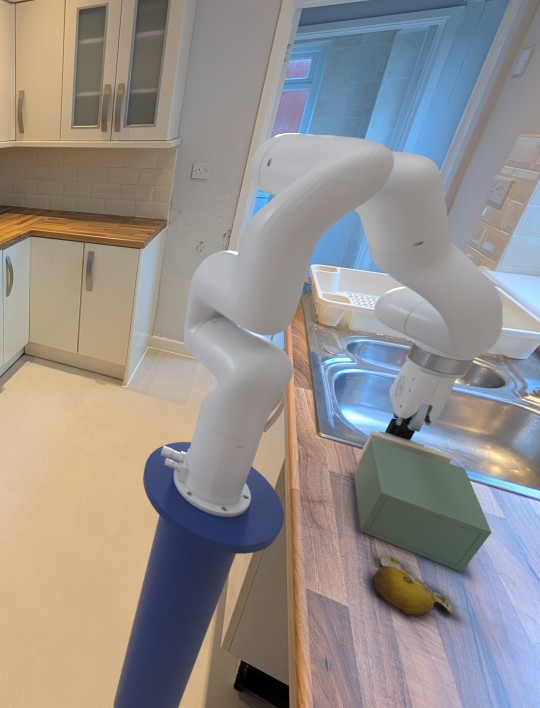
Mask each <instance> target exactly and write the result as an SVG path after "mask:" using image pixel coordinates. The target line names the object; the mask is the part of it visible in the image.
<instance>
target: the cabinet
mask: <svg viewBox="0 0 540 708" xmlns="http://www.w3.org/2000/svg"><path fill="white" fill-rule="evenodd" d="M353 479H354V487H355V496H356V504H357V513H358V522H359V528H360V529H359V530H360V532H361V533H363V534H367V535H369V536H372V537H374V538H376V539H378V540H381V541H384V542H386V543H389V544H392V545H394V546H396V547H398V548H401V549H403V550H406V551H408V552H411V553H414V554H416V555H418V556H420V557H423V558H426V559H428V560H430V561H433V562H435V563H438V564H441V565H443V566H446V567H448V568H451V569H453V570H456V571H458V572H460V573H463V572H464V570H465V569H466V567H467V566H468V565H469V563H470V562H471V561H472V559H473V558H474V557H475V555H476V554H477V553H478V551H480V549H481V547H482V546H483V545H484V543H485V542H486V541H487V539H488V538H489V537H490V535H492V530H491V527H490V525H489V523H488V520H487V518H486V516H485V513H484V510H483V508H482V506H481V504H480V502H479V498H478V497H477V495H476V492H475V490H474V488H473V485H472V483H471V480H470V478H469V476H468V473H467V471H466V469H465V467H461V466H458V465H455V464H452V463H446V462H442V461H439V460H436V459H433V458H430V457H426V456H423V455H420V454H417V453H414V452H411V451H407V450H404V449H401V448H398V447H395V446H391V445H388V444H385V443H382V442H379V441H376V440H371V442H370V444H369V446H368V448H367V450H366V452H365V454H364V456H363V458H362V460H361V462H360V463H359V464H358V466H357V468H356V470H355V472H354V474H353Z"/></svg>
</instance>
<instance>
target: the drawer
mask: <svg viewBox="0 0 540 708" xmlns="http://www.w3.org/2000/svg"><path fill="white" fill-rule="evenodd" d="M371 440H376V441H379V442H382V443H385V444H388V445H391V446H395V447H398V448H401V449H404V450H407V451H411V452H414V453H417V454H420V455H423V456H426V457H430V458H433V459H436V460H439V461H442V462H446V463H449V464H451V461H452V456H451V454H450V453H446V452H442V451H439V450H436V449H433V448H429V447H426V446H425V445H424V444H423V443H420V442H418V441H414V440H412V439H411V440H407V439H404V438H401V437H398V436H394V435H391V434H388V433H385V431H379V432H377V431H375V430H371V431H370V433H369V435H368V438H367V439H366V441H365V443H364V444H363V447H362V449H361V451H360V453H359V454H358V457H357V461H358V463H359V464H360V462H361V460H362V458H363V456H364V454H365V452H366V450H367V448H368V446H369V444H370V442H371Z"/></svg>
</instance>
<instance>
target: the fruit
mask: <svg viewBox="0 0 540 708" xmlns="http://www.w3.org/2000/svg"><path fill="white" fill-rule="evenodd" d="M379 563H380V565H381V566H382V567H380V568H379V569H378V570H377V571H376V572H375V573H374V575H373V577H372V579H373V581H372V582H373V588H374V591H375V593H376V594H378V595H379V596H380V597H381V598H382V599H384V600H385V601H387V602H390V603H391V604H393V605H395V607H397V608H398V609H400V610H402V611H403V613H404V614H406V615H413V616H415V617H420V616H421V615H424V614H426V613H428V612H430V611H431V609H432V608H433V607H434V604H435V603H438V604H441V605H442V606H444V608H445V610H444V611H445V612H447V613H449V614H451V615H452V614H454V613H455V611H454V608H453V606H452V605H451V603H450V600H448V599H447V597H446V596H444V595H442V594H441V595H440V593H437V592H435V591H433V590H432V589H430V588H429V587H428V585H427V584H426V583H425V584H424V582H422V581H421V580H420V579H419V578H417V577H415V576H414V575H413V574H412V573H410V572H408V571H406V570H404V568H403V567H402V566H401V563H400V562H399V561H398V560H396V558H394V557H392V556H388V555H381V556H380V557H379Z"/></svg>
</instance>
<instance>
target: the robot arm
mask: <svg viewBox="0 0 540 708" xmlns="http://www.w3.org/2000/svg"><path fill="white" fill-rule="evenodd" d="M248 172H249V177H250V179H251V182H252V183H253V185H254V186H255V187H256V188H257V189H258V190H260V191H261V192H263V193H265V194H268V195H271V196H274V197H273V198H271V200H269V201H268V202H267V203H266V204H265V205H263V206H262V207H261V208H259V210H258V211H256V212H255V214H254V215H253V216H252V217H251V218H250V219H249V220H248V222H247V224H246V226H245V227H244V229H243V232H242V235H241V239H240V241H239V242H240V243H239V246H238V250H237V251H233V250H221V251H218V252H214V253H212V254H210V255H208V256H207V257H206V258H204V260H202V262H200V263H199V265H198V266H197V268H196V270H195V271H194V273H193V275H192V277H191V281H190V285H189V288H188V289H189V290H188V297H187V303H186V304H187V305H186V311H185V318H184V325H183V343H184V345H185V349H186V350H187V351H188V353H189V354H190V355H191V356H192V357H193V358H194V359H195V360H197V362H199V363H200V364H201V365H202V366H203V367H204V368H205V369H206V370H207V371H208V372H209V373H210V374H211V375H213V376H214V378H215V379H216V381H217V385H216V387H214V388H213V389H212V390H210V391H208V392H207V393H206V394H205V396H204V397H203V398H202V401H201V404H200V408H199V411H198V415H197V419H196V423H195V427H194V431H193V435H192V439H191V441H190V442H191V446H190V448H189V449H188V451H187V453H185V452H183V451H181V453H180V452H177V451H175V450H173V449H171V448H169V447H166V446H164V445H162V446H163V449H162V452H161V455H162V456H164V457H167V458H166V460H165V464H164V465H166V466H169V467H172V468H174V469H175V470H174V474H173V478H174V483H175V485H176V487H177V489H178V491H179V492H180V494H181V495H182V496H183V497H184V498H185V499H186V500H187V501H188V502H190V503H191V504H192V505H194V506H195V507H197V508H199V509H200V510H202V511H205V512H207V513H210V514H213V515H216V516H222V517H233V516H238V515H240V514H242V513H244V512H245V511H246V510H247V508H248V507H249V504H250V501H251V494H250V490H249V488H248V486H247V484H246V483H245V482H246V480H247V477H248V474H249V471H250V468H251V466H252V465H253V462H254V459H255V457H256V455H257V452H258V448H259V446H260V443H261V440H262V438H263V434H264V431H265V429H266V426H267V422H268V420H269V418H270V415H271V414H272V411H273V409H274V407H275V405H276V404H277V402H278V400H279V399H280V397H281V396H282V394H284V392H285V390H286V389H287V388H288V386H289V384H290V382H291V380H292V378H293V373H294V368H293V363H292V361H291V358H290V357H289V356H288V354H287V353H286V352H285V351H284V350H283V349H282V347H280V346H279V345H278V344H277V343H275V342H274V341H272V340H271V339H270V338H268V337H266V336H275V335H278V334H281V333H282V332H284V331H285V330H286V329H288V327H289V326H290V325H291V323H292V322H293V320H294V318H295V316H296V313H297V310H298V307H299V303H300V300H301V296H302V293H303V289H304V286H305V282H306V278H307V274H308V271H309V266H310V263H311V260H312V258H313V255H314V252H315V249H316V247H317V245H318V243H319V241H320V239H322V237H323V236H324V235H325V233H327V231H329V230H330V229H331V228H332V227H333V226H334V225H335V224H337V223H338V222H339V221H340V220H341V219H343V218H344V217H345V216H347V215H349V214H350V213H351V212H353V211H354V212H355V213H357V214H358V217H359V219H360V222H361V226H362V229H363V232H364V235H365V240H366V244H367V248H368V253H369V256H370V258H371V260H372V262H373V263H374V264H375V265H376V266H377V267H378V268H379V269H381V270H382V271H383V272H384V273H385V274H387V275H388V276H389V277H391V278H392V279H394V280H395V281H396V282H398V283H399V284H401V285H403V287H401V286H400V287H397V288H394V289H391V290H388V291H387V292H385V293H384V294H382V295H381V296H380V297H379V298H378V299H377V300H376V302H375V304H374V315H375V317H376V318H377V320H378V321H379V322H380V323H382V324H383V325H384V326H386V327H388V328H389V329H392V330H393V331H396V332H398V333H400V334H402V335H404V336H407V337H408V338H411V339H413V340H412V343H411V345H410V347H409V349H408V351H407V353H406V356H405V359H406V360H405V362H404V363H403V365H402V367H400V370H399V372H398V373H397V375H396V377H395V379H394V381H392V384H391V385H390V388H389V392H388V394H389V399H390V402H391V406H392V409H393V412H394V413H393V417H392V418H391V419H390V421H389V423H388V425H387V427H386V429H385V431H384V433H388V434H391V435H394V436H398V437H401V438H404V439H407V440H411V441H412V438H413V436H414V435H415V433H416V432H417V433H419V432H421V429H422V427H423V425H424V423H425V425H426V426H428V427H429V426H433V425H434V424H435V423H436V422H437V420H438V418H439V417H440V415H441V413H443V410H444V408H445V406H446V403H447V402H448V399H449V397H450V395H451V394H452V392H453V391H452V390H453V388H454V386H455V384H456V381H457V379H460V378H462V377H463V378H464V377H465V376H466V375H467V374H468V371H469V370H470V367H471V366H472V364H473V362H474V361H475V359H476V357H478V356H482V355H483V354H485V353H487V352H489V351H490V350H491V349H492V348H493V347H494V346H495V345H496V343H497V342H498V341H499V338H500V336H501V334H502V331H503V325H504V324H503V323H504V322H503V308H504V307H503V305H504V304H503V301H502V298H501V295H500V293H499V292H498V289H497V288H496V286H495V285H494V283H493V282H492V280H491V279H490V278H489V277H488V276H487V275H486V274H485V273H484V272H483V271H482V270H481V269H480V268H479V267H478V266H477V265H476V264H475V262H474V261H473V260H472V259H470V257H468V255H466V254H465V253H464V252H463V251H462V250H461V249H460V248H458V246H457V245H456V244H454V243H453V240H452V238H451V231H450V224H449V223H450V222H449V218H448V210H447V203H446V198H445V191H444V185H443V179H442V174H441V171H440V169H439V167H438V165H437V164H436V163H435V162H434V161H433V160H432V159H430V158H429V157H426V156H424V155H421V154H417V153H412V152H406V151H395V150H390V149H389V148H388V147H387V146H386V145H384V144H382V143H379V142H377V141H375V140H370V139H365V138H361V137H353V136H344V135H343V136H342V135H341V136H339V135H326V134H324V135H321V134H311V133H310V134H308V133H295V132H294V133H293V132H288V133H281V134H277V135H275V136H273V137H270V138H269V139H267V140H265V141H264V142H263V143H262V144H261V145H260V146H259V147H257V149H256V150H255V151H254V153H253V155H252V157H251V160H250V162H249V171H248ZM168 458H169V459H168ZM171 459H173V460H175V461H178V463H177V462H175V461H173V460H171Z"/></svg>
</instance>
